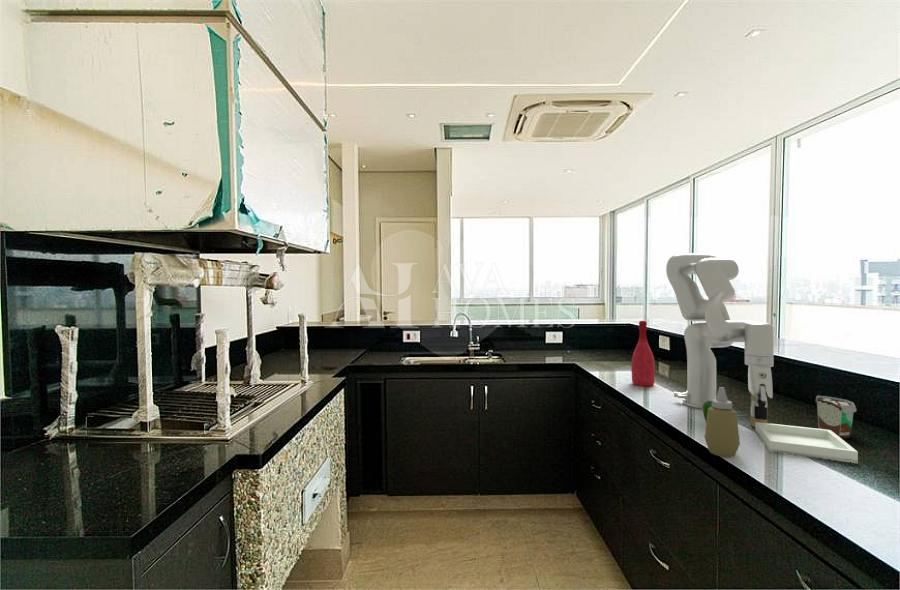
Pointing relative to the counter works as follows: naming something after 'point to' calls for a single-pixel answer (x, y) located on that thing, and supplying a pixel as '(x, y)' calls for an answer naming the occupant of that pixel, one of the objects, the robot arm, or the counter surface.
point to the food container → (835, 415)
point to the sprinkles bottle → (753, 411)
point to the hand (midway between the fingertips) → (758, 416)
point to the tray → (805, 442)
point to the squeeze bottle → (722, 427)
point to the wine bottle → (643, 360)
